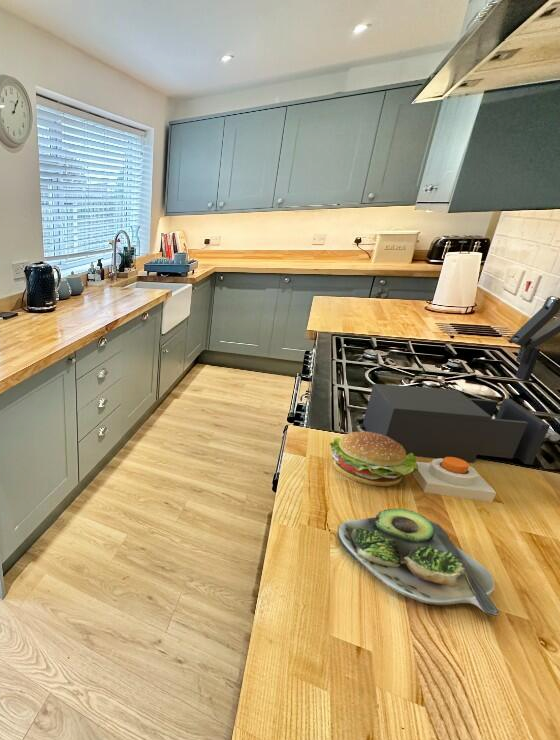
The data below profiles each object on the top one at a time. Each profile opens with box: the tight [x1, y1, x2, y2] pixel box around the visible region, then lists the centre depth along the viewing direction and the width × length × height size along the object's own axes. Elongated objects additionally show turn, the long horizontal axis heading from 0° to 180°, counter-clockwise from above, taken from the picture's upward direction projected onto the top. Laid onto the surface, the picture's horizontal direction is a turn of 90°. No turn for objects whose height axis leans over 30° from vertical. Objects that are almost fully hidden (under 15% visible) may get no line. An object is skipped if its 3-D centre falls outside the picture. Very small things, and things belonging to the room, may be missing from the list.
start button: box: [441, 457, 470, 474], centre depth 80 cm, size 4×4×2 cm
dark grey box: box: [362, 383, 493, 464], centre depth 94 cm, size 16×14×11 cm
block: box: [410, 458, 497, 503], centre depth 80 cm, size 10×8×4 cm
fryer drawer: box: [467, 397, 560, 465], centre depth 89 cm, size 19×13×9 cm
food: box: [329, 430, 418, 487], centre depth 85 cm, size 14×14×8 cm
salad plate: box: [337, 508, 500, 617], centre depth 63 cm, size 19×18×5 cm
